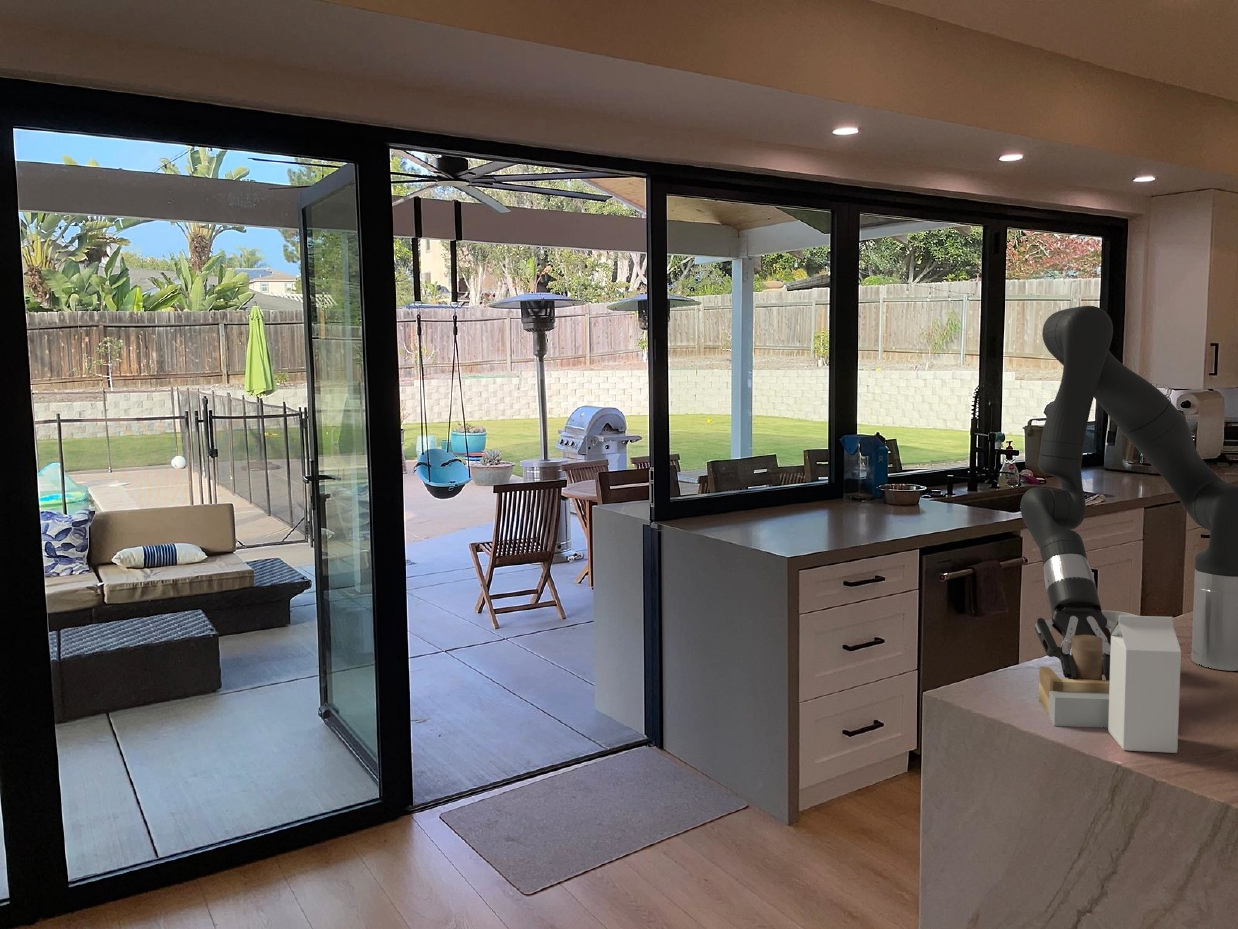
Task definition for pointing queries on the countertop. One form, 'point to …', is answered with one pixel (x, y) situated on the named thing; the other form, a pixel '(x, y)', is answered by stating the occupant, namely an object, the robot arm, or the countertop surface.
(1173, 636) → the milk carton
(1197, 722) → the countertop surface
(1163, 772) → the countertop surface
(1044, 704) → the cradle
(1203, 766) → the countertop surface
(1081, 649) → the brown wooden cylinder
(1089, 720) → the stone ledge
